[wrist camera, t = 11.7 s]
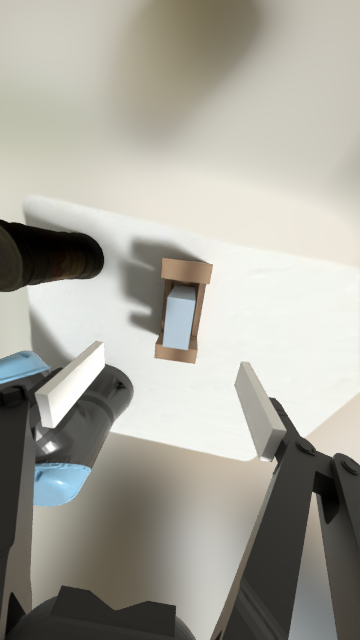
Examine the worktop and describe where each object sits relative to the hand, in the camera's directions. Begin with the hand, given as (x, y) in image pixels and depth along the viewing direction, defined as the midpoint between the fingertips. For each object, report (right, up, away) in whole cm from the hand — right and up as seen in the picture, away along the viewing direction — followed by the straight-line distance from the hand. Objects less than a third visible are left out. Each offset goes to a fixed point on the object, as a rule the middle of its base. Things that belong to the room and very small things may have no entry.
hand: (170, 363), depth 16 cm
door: (+1, +8, +20) cm, 22 cm away
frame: (+2, +8, +21) cm, 23 cm away
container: (-19, +17, +20) cm, 32 cm away
